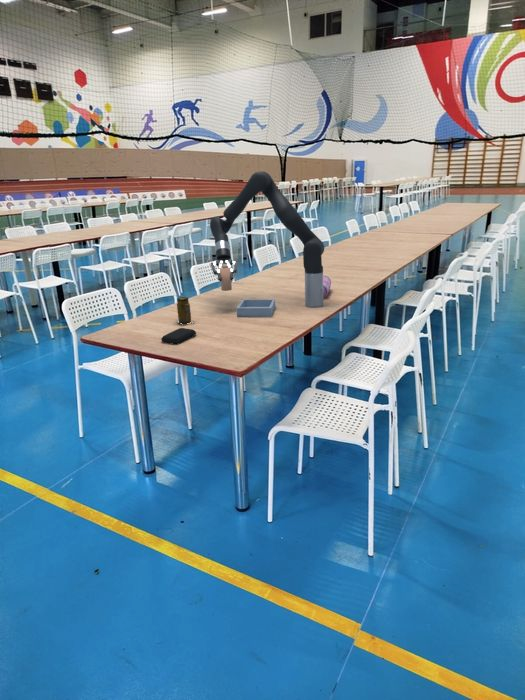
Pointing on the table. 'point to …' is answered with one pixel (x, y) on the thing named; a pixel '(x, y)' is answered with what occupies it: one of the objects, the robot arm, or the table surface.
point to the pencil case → (326, 285)
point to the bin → (256, 308)
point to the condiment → (183, 311)
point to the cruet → (225, 278)
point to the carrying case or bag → (178, 335)
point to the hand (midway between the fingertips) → (226, 280)
